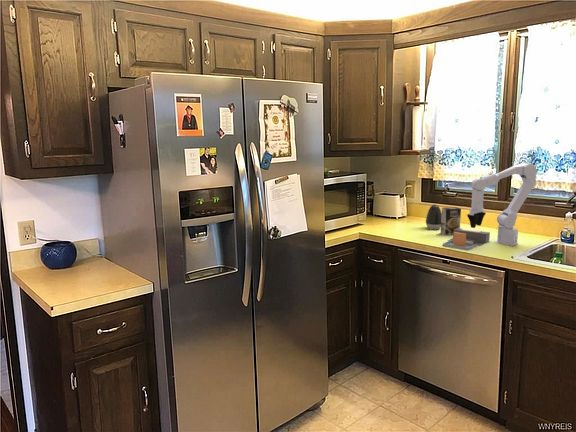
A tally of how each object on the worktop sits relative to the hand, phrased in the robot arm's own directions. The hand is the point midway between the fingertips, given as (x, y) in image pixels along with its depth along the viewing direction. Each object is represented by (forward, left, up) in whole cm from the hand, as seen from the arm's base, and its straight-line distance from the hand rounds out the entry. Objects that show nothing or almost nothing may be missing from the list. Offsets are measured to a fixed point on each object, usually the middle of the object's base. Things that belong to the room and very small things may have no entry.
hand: (475, 226), depth 249 cm
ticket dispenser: (+4, -1, -9) cm, 10 cm away
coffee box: (+19, -11, -10) cm, 24 cm away
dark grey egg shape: (+34, -21, -10) cm, 41 cm away
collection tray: (+3, +13, -9) cm, 16 cm away
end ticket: (+3, +13, -9) cm, 16 cm away
